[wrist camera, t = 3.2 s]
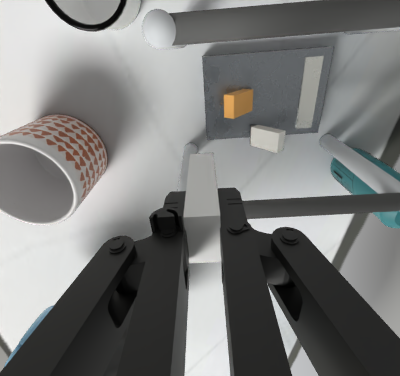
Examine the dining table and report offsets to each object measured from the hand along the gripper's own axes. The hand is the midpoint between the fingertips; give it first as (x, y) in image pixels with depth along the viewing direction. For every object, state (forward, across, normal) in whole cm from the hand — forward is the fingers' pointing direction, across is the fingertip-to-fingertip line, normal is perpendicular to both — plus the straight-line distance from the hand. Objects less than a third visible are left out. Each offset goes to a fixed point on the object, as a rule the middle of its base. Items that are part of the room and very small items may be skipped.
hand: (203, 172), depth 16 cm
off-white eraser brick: (+24, +7, -6) cm, 25 cm away
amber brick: (+24, +7, 0) cm, 25 cm away
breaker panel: (+26, +9, 0) cm, 28 cm away
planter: (+26, -25, -8) cm, 37 cm away
